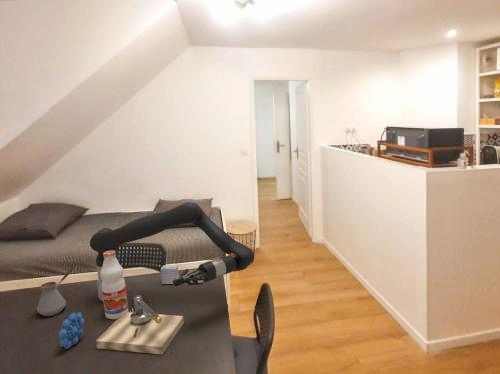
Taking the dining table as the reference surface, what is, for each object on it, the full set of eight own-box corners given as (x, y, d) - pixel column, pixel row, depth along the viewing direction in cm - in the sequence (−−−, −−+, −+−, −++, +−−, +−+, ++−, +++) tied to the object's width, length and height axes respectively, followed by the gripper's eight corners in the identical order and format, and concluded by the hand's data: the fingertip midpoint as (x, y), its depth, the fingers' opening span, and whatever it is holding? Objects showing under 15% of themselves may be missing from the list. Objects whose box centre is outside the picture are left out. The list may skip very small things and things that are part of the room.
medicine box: (179, 281, 184) (178, 265, 182) (177, 285, 180) (175, 268, 178) (164, 281, 185) (163, 265, 183) (161, 285, 180) (160, 268, 179)
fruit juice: (128, 306, 161) (121, 246, 155) (128, 317, 152) (120, 254, 146) (106, 310, 158) (98, 250, 153) (104, 321, 149) (95, 257, 144)
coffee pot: (52, 320, 152) (46, 287, 149) (31, 316, 156) (25, 284, 153) (88, 296, 172) (84, 266, 169) (69, 293, 176) (65, 265, 173)
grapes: (77, 333, 141) (72, 305, 139) (90, 336, 139) (86, 307, 137) (52, 352, 130) (47, 321, 128) (66, 355, 128) (61, 324, 126)
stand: (96, 348, 131) (95, 340, 131) (125, 318, 151) (125, 311, 150) (162, 354, 126) (161, 346, 125) (184, 322, 145) (183, 315, 145)
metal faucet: (127, 319, 144) (125, 297, 142) (147, 311, 149) (144, 291, 147) (151, 345, 126) (148, 321, 124) (172, 336, 131) (169, 313, 129)
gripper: (203, 257, 152) (165, 269, 142) (220, 265, 142) (180, 279, 131) (204, 273, 153) (167, 287, 143) (222, 283, 143) (183, 298, 133)
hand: (173, 283), depth 137 cm, fingers closed
